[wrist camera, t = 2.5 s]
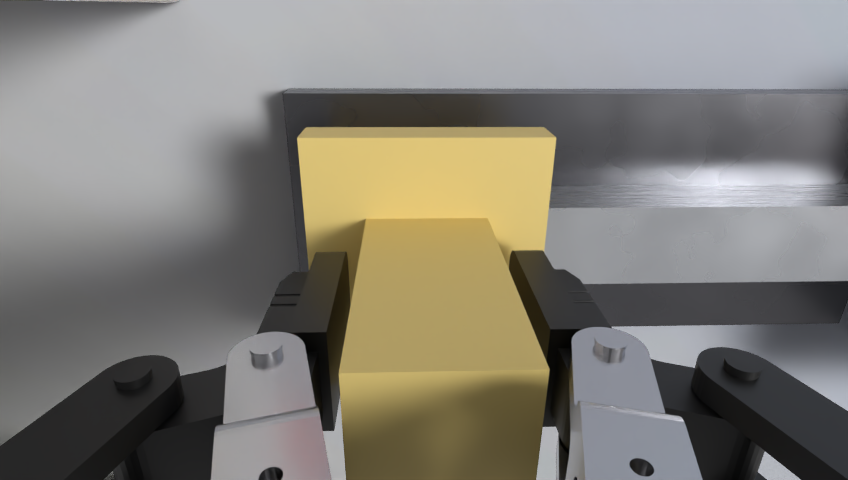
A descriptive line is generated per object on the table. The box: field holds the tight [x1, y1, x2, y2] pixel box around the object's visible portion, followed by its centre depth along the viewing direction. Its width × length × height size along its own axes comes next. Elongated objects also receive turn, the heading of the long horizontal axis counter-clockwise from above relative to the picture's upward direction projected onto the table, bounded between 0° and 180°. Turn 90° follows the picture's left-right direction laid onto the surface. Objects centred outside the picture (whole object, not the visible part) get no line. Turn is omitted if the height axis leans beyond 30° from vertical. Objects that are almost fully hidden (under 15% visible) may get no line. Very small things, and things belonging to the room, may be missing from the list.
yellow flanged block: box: [297, 127, 556, 480], centre depth 12 cm, size 7×6×9 cm
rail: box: [283, 89, 848, 326], centre depth 17 cm, size 8×19×3 cm, turn 90°
